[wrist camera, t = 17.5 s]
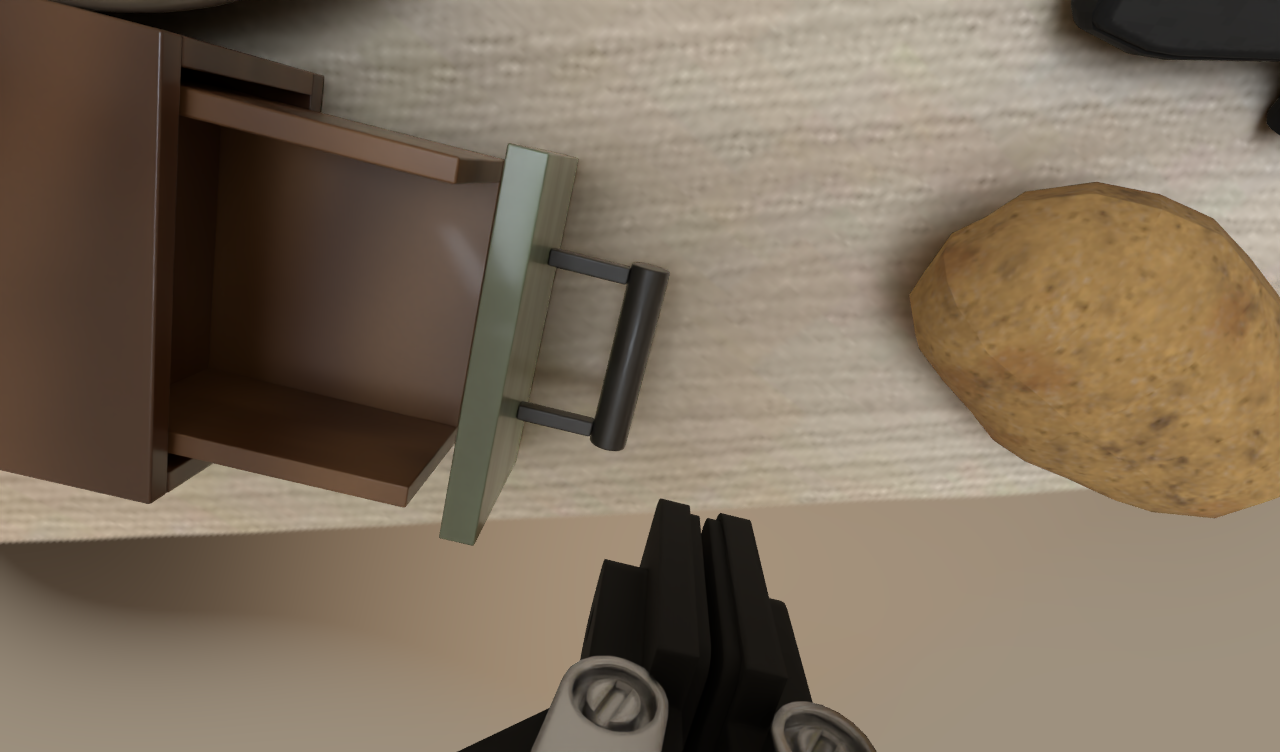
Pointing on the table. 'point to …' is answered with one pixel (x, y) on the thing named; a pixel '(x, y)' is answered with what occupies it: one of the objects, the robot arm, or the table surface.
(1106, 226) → the potato
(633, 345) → the drawer
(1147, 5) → the handgun
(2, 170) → the cabinet
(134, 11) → the plant saucer
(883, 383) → the table surface
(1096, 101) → the table surface
